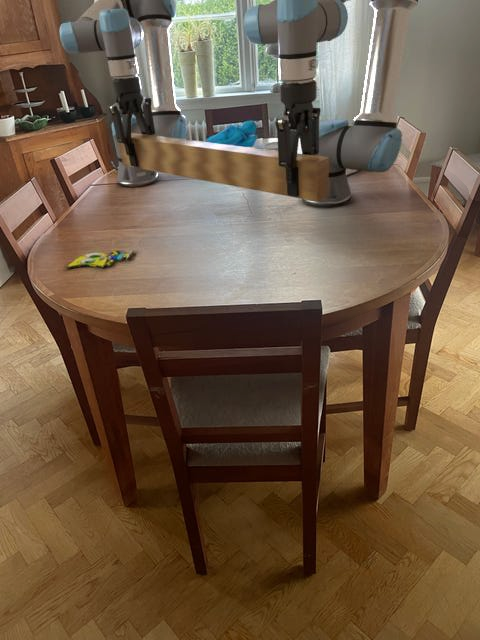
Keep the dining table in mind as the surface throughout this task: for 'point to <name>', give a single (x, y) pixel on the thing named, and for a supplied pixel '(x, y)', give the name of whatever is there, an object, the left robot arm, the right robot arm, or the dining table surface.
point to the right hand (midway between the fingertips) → (299, 191)
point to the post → (229, 165)
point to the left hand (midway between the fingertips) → (141, 163)
